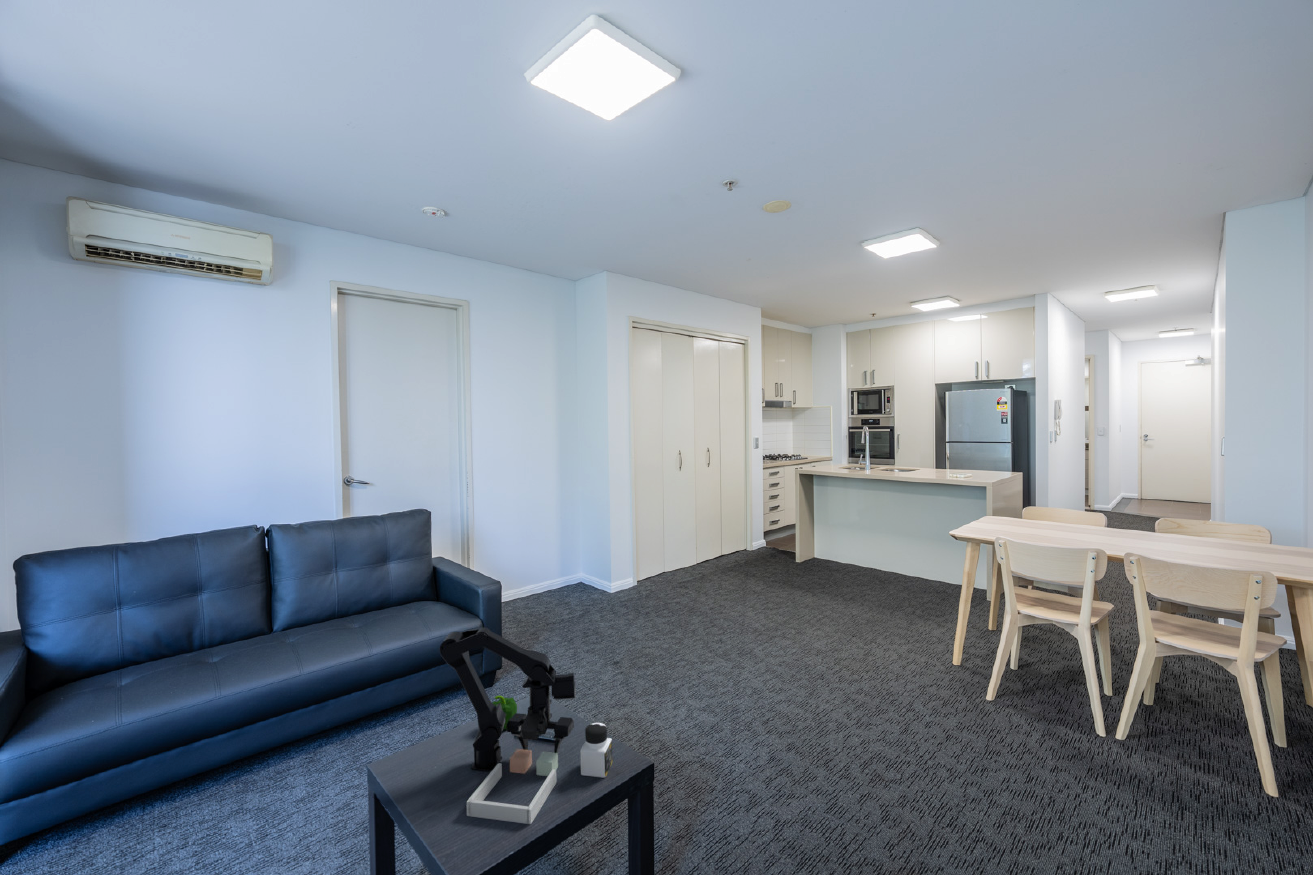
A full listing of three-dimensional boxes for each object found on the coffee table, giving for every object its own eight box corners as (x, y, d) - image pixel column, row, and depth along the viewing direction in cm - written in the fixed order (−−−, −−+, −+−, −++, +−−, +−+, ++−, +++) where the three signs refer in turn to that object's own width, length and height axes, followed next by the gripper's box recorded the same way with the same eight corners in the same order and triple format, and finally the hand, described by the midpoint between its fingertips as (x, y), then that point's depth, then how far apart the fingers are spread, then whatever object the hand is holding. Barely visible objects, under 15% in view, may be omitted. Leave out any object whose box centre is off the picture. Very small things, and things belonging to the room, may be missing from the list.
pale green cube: (536, 775, 149) (536, 760, 149) (543, 765, 154) (542, 751, 154) (552, 776, 149) (551, 762, 149) (558, 766, 153) (557, 752, 153)
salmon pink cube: (509, 772, 151) (509, 757, 151) (517, 762, 155) (516, 748, 155) (524, 773, 150) (524, 759, 150) (531, 764, 155) (531, 750, 155)
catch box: (466, 815, 134) (466, 801, 134) (498, 775, 149) (498, 763, 149) (530, 824, 130) (530, 809, 130) (556, 782, 146) (556, 769, 146)
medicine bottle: (605, 778, 147) (604, 734, 147) (580, 775, 149) (579, 732, 149) (612, 762, 154) (611, 720, 154) (588, 760, 156) (588, 718, 156)
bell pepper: (521, 719, 179) (521, 689, 179) (511, 733, 171) (510, 701, 171) (497, 718, 180) (497, 688, 180) (486, 731, 172) (485, 700, 172)
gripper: (496, 711, 151) (497, 767, 151) (559, 716, 147) (561, 774, 147) (514, 692, 162) (515, 745, 162) (574, 697, 158) (575, 750, 158)
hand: (541, 753), depth 157 cm, fingers open, 9 cm apart
